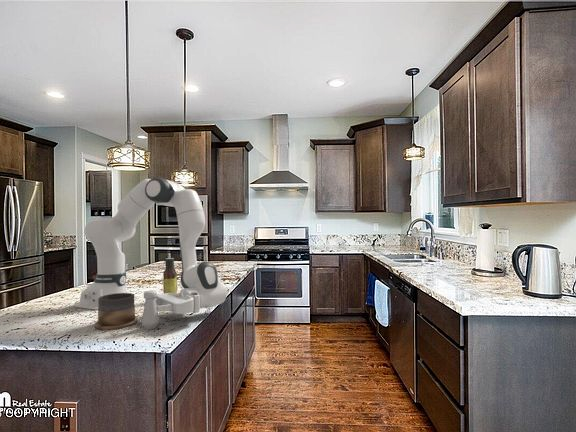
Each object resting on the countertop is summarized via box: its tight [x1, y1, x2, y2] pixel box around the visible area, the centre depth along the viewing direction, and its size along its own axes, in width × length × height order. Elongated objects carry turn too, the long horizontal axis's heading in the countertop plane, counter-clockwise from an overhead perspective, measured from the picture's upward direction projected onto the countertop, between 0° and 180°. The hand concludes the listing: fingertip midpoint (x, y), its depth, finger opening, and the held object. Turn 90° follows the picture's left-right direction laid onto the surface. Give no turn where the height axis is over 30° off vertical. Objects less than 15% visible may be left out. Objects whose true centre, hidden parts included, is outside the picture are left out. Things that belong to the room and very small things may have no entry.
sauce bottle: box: [162, 257, 178, 294], centre depth 156 cm, size 7×6×20 cm
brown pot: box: [94, 292, 139, 331], centre depth 121 cm, size 14×14×10 cm
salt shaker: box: [140, 289, 160, 331], centre depth 116 cm, size 6×6×13 cm
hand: (151, 306), depth 116 cm, fingers open, 8 cm apart
